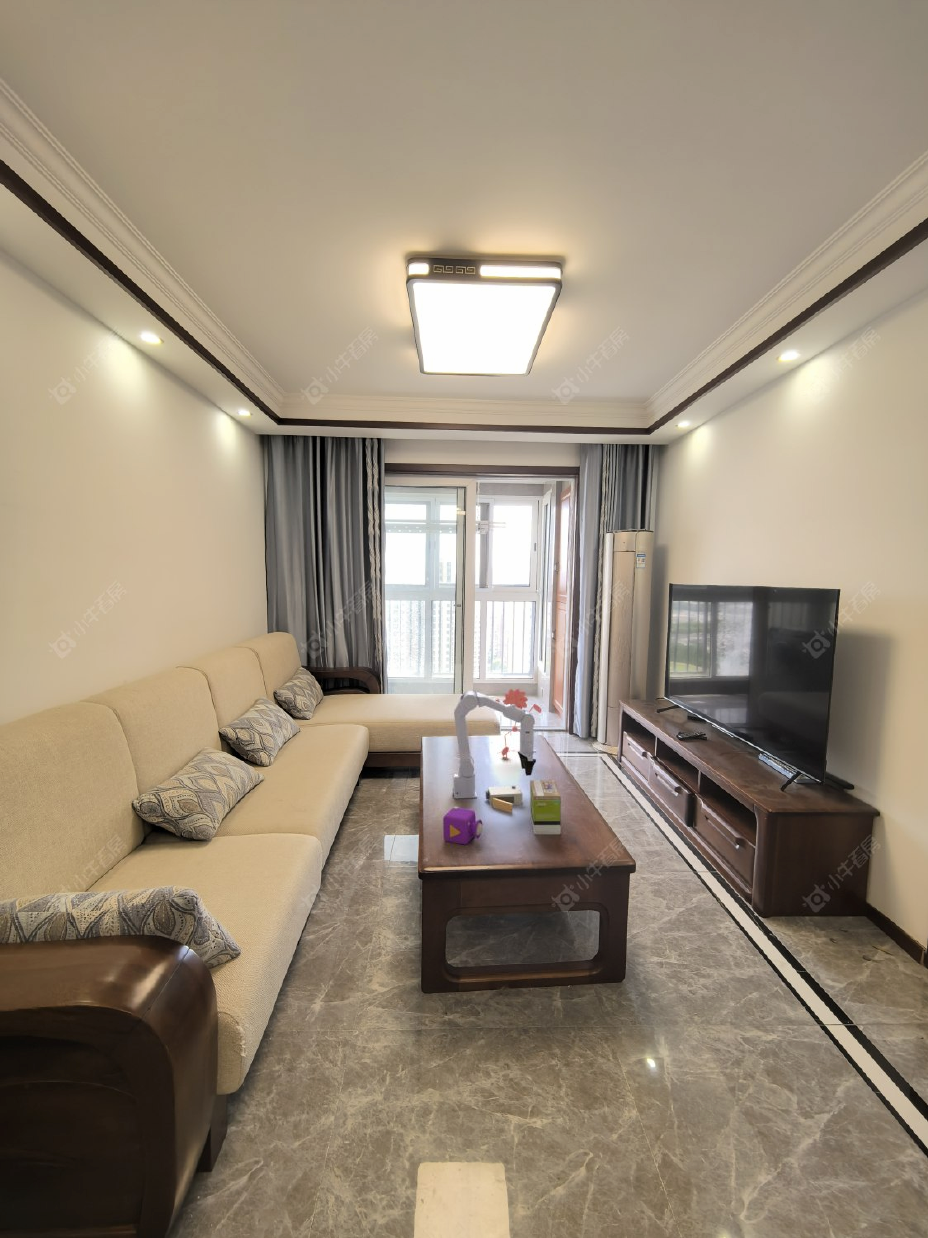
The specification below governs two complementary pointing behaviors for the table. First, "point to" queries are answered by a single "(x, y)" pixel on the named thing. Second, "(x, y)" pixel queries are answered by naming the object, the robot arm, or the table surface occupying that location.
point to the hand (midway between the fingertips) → (526, 771)
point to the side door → (501, 805)
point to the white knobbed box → (505, 794)
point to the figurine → (519, 702)
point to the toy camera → (461, 826)
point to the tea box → (545, 807)
